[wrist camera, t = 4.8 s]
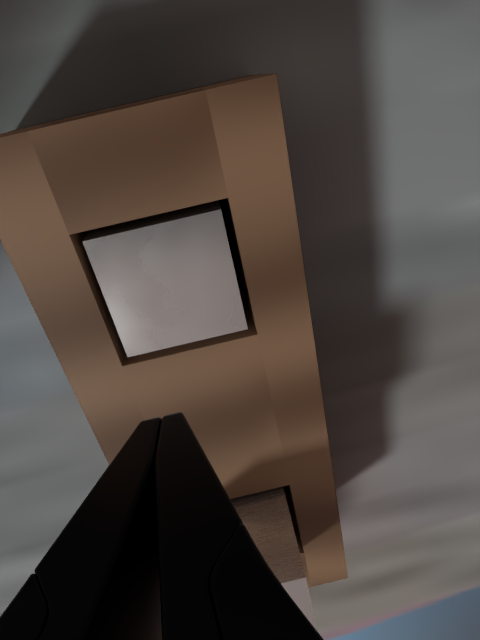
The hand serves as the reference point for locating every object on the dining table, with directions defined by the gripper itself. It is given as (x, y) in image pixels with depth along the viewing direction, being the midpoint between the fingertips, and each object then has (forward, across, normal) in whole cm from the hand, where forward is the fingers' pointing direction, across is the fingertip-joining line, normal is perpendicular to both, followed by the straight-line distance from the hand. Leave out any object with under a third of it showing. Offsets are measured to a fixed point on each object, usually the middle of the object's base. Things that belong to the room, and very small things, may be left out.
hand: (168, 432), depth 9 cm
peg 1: (+12, 0, 0) cm, 12 cm away
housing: (+12, 0, +6) cm, 14 cm away
